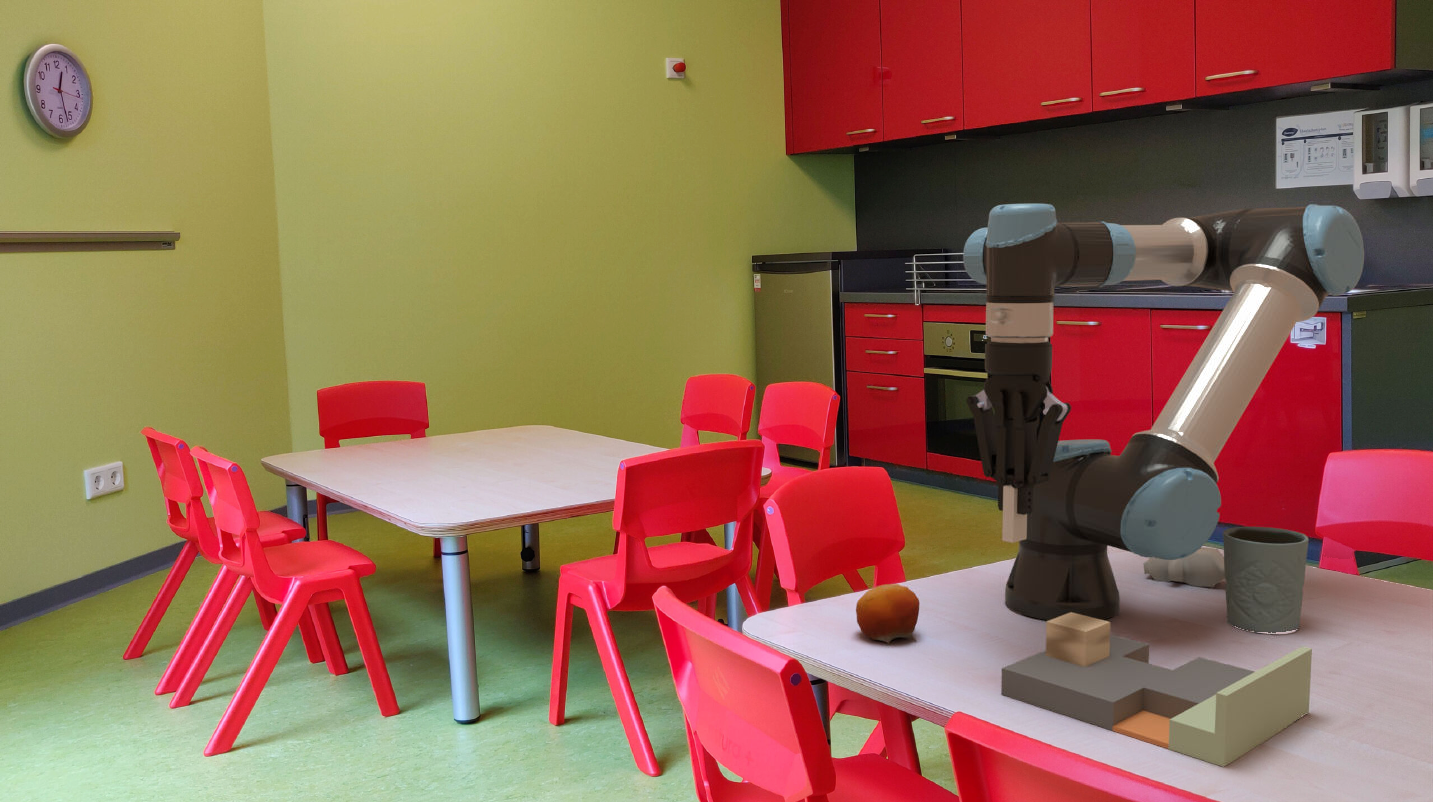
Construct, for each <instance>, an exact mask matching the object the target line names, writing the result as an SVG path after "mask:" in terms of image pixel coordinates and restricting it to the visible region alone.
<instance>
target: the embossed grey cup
mask: <svg viewBox="0 0 1433 802" xmlns="http://www.w3.org/2000/svg"><path fill="white" fill-rule="evenodd" d="M1222 538H1223V539H1222V540H1223V541H1222V542H1223V543H1222V544H1223V556H1224V571H1225V589H1224V590H1225V602H1226V620H1227V621H1228V622H1229V623H1230V624H1231V625H1233V626H1236V627H1238V628H1241V629H1244V630H1248V631H1254V632H1268V633H1271V632H1272V633H1276V632H1286V631H1292V630H1296V629H1298V627H1299V628H1300V626H1301V625H1300V624H1301V613H1302V607H1303V606H1302V604H1303V598H1304V597H1303V596H1304V591H1303V588H1304V586H1305V577H1306V576H1305V575H1306V569H1307V568H1306V566H1307V557H1308V549H1309V537H1308V536H1307V535H1306V534H1305V533H1302V532H1298V531H1295V530H1289V529H1284V528H1277V527H1267V526H1235V527H1231V528H1229V527H1228V528H1227V529H1225V530H1224V531H1223V532H1222ZM1228 622H1227V623H1228ZM1229 623H1228V624H1229ZM1230 624H1229V625H1230ZM1231 625H1230V626H1231ZM1233 626H1232V627H1233ZM1241 629H1240V630H1241ZM1244 630H1243V631H1244ZM1298 630H1299V629H1298ZM1248 631H1247V632H1248Z"/></svg>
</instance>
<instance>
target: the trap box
mask: <svg viewBox="0 0 1433 802" xmlns="http://www.w3.org/2000/svg"><path fill="white" fill-rule="evenodd" d="M1312 651H1313V649H1312V648H1310V647H1305V646H1301V647H1300V646H1299V648H1297V649H1295V650H1293V651H1290V652H1289V653H1287V654H1286V655H1284V656H1281V657H1280V658H1278V659H1277V660H1274V661H1272V662H1270V663H1269V664H1267V665H1265V666H1264V667H1261V668H1259V669H1258V670H1255V671H1254V670H1251V669H1247V668H1244V667H1243V668H1242V667H1238V666H1235V665H1231V664H1228V663H1227V664H1226V663H1224V662H1219V661H1216V660H1211V659H1208V658H1203V657H1200V656H1199V657H1196V658H1194V659H1193V660H1190V661H1189V662H1186V663H1184V664H1182V665H1180V666H1177V667H1176V668H1174V669H1170V668H1166V667H1163V666H1159V665H1156V664H1152V663H1150V662H1149V661H1150V660H1149V659H1150V644H1149V643H1146V642H1142V641H1138V640H1134V639H1130V638H1127V637H1124V636H1123V637H1122V636H1119V635H1116V634H1111V633H1110V650H1109V657H1106V658H1104V659H1102V660H1100V661H1097V662H1095V663H1093V664H1091V665H1088V666H1086V667H1084V666H1080V665H1077V664H1073V663H1070V662H1066V661H1063V660H1059V659H1056V658H1052V657H1049V656H1046V649H1045V650H1043V651H1041V652H1038V653H1036V654H1033V655H1031V656H1028V657H1026V658H1023V659H1021V660H1019V661H1016V662H1014V663H1011V664H1009V665H1007V666H1004V667H1001V686H1000V687H1001V691H1000V693H1001V695H1002V696H1006V697H1009V698H1012V699H1014V700H1018V701H1020V702H1024V703H1027V704H1030V705H1033V706H1036V707H1040V708H1042V709H1045V710H1047V711H1052V712H1054V713H1058V714H1061V715H1064V716H1066V717H1070V718H1073V719H1075V720H1079V721H1081V722H1085V723H1087V724H1088V723H1089V724H1091V725H1094V726H1097V727H1100V728H1104V729H1107V730H1110V731H1112V732H1115V733H1118V734H1122V735H1124V736H1128V737H1131V738H1134V739H1137V740H1140V741H1143V742H1146V743H1149V744H1152V745H1156V746H1157V747H1162V748H1164V749H1168V750H1170V751H1174V752H1177V753H1179V754H1183V755H1185V756H1188V757H1191V758H1192V757H1193V758H1196V759H1198V760H1201V761H1204V762H1207V763H1210V764H1214V765H1216V766H1220V767H1223V768H1224V767H1226V766H1228V765H1229V764H1231V763H1232V762H1234V761H1236V760H1237V759H1239V758H1240V757H1242V756H1244V755H1246V754H1247V753H1248V752H1250V751H1251V750H1253V749H1255V748H1256V747H1258V746H1259V745H1261V744H1263V743H1264V742H1266V741H1267V740H1269V739H1270V738H1272V737H1274V736H1275V735H1276V734H1278V733H1279V732H1282V731H1283V730H1285V729H1286V728H1287V726H1288V725H1289V726H1291V725H1292V724H1294V723H1295V722H1294V721H1296V720H1297V719H1299V718H1300V717H1301V716H1302V715H1304V714H1306V713H1308V711H1309V712H1310V695H1311V694H1310V693H1311V678H1312V677H1311V676H1312V675H1311V674H1312V658H1313V657H1312V654H1313V653H1312ZM1308 714H1309V713H1308ZM1300 719H1301V718H1300ZM1300 719H1299V720H1300ZM1297 721H1298V720H1297ZM1297 721H1296V722H1297ZM1293 722H1294V723H1293ZM1291 723H1292V724H1291ZM1290 724H1291V725H1290ZM1289 726H1288V727H1289ZM1284 728H1285V729H1284Z"/></svg>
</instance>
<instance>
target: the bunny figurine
mask: <svg viewBox="0 0 1433 802" xmlns="http://www.w3.org/2000/svg"><path fill="white" fill-rule="evenodd" d="M1143 573H1144V574H1145V575H1147V574H1148V575H1150V577H1151V578H1153V580H1155V581H1156V582H1161V583H1162V582H1163V583H1169V582H1179V583H1180V582H1181V583H1185V584H1188V585H1190V586H1193V587H1207V588H1209V587H1212V588H1214V587H1215V585H1216V584H1219V582H1222V581H1223V580H1224V579H1225V571H1224V554H1223V553H1221V552H1220V550H1219V549H1218V548H1213V547H1201V548H1200V549H1199V550H1197V551H1196V552H1194V553H1193V554H1191V555H1189V556H1187V557H1184V558H1180V559H1176V560H1164V559H1159V558H1148V559H1147V561H1145V562H1144V563H1143Z"/></svg>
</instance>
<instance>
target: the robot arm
mask: <svg viewBox="0 0 1433 802" xmlns="http://www.w3.org/2000/svg"><path fill="white" fill-rule="evenodd" d="M1056 216H1057V215H1056V208H1055V207H1054V205H1052V204H1050V203H1049V204H1048V203H1010V204H1009V203H1008V204H1006V203H1005V204H999V205H996V206H994V207H993V208H992V209H991V210H990V211H989V214H988V222H987V227H981V228H979V229H977V230H974V231H973V233H971V235H970V236H969V237H968V238H967V240H966V241H965V244H964V247H963V255H962V258H963V261H962V262H963V267H964V269H965V271H966V273H967V275H968V276H969V277H970V279H972V280H973V281H974V282H976V283H979V284H981V285H983V284H984V285H986V304H985V305H986V307H985V335H986V336H987V337H988V338H989V337H990V340H989V341H987V342H986V343H985V345H984V369H985V372H986V373H987V376H986V380H985V381H984V384H983V390H981V391H980V392H978V393H977V394H976V395H968V396H967V397H966V404H967V406H968V409H969V410H970V412H971V414H972V416H973V421H974V427H975V433H976V438H977V439H976V440H977V444H978V449H979V456H980V460H981V466H982V472H983V475H984V476H985V477H986V478H991V479H993V480H994V481H995V482H996V483H997V486H998V487H997V489H998V490H997V508H998V511H1001V512H1002V532H1001V533H1002V534H1001V535H1002V536H1001V539H1002V541H1003V542H1007V543H1012V544H1013V543H1017V542H1018V552H1017V553H1016V556H1015V559H1014V562H1013V566H1012V568H1011V571H1010V574H1009V576H1008V579H1007V581H1006V583H1005V588H1004V589H1005V591H1004V603H1005V605H1006V606H1007V608H1009V609H1010V610H1012V611H1013V612H1015V613H1019V614H1020V615H1023V616H1026V617H1027V616H1028V617H1031V618H1036V619H1039V620H1040V619H1041V620H1046V621H1049V620H1052V619H1054V618H1057V617H1060V616H1062V615H1065V614H1068V613H1070V612H1072V613H1076V614H1080V615H1084V616H1088V617H1092V618H1096V619H1100V620H1107V619H1109V618H1113V617H1114V616H1116V615H1117V614H1119V612H1120V600H1121V599H1120V591H1119V589H1118V586H1117V583H1116V582H1117V581H1116V579H1115V576H1114V571H1113V568H1112V565H1111V562H1110V559H1109V556H1108V547H1111V548H1115V549H1119V550H1122V551H1126V552H1129V553H1132V554H1134V555H1138V556H1139V557H1142V558H1143V557H1144V558H1148V559H1150V558H1159V559H1164V560H1176V559H1180V558H1184V557H1187V556H1189V555H1191V554H1193V553H1194V552H1196V551H1197V550H1199V549H1200V548H1203V546H1204V545H1205V544H1206V543H1207V542H1208V541H1209V539H1211V536H1212V535H1213V533H1214V531H1215V529H1216V528H1217V525H1218V522H1219V520H1220V515H1221V514H1220V512H1218V509H1220V507H1221V506H1222V497H1221V492H1220V489H1219V486H1218V485H1217V484H1218V482H1219V479H1220V478H1219V474H1218V473H1219V472H1218V471H1217V468H1216V466H1215V461H1216V460H1217V458H1218V457H1219V455H1220V453H1221V451H1222V449H1223V448H1224V446H1225V444H1226V442H1227V441H1228V439H1229V438H1230V436H1231V434H1232V432H1233V431H1234V429H1235V428H1236V426H1237V424H1238V422H1239V421H1240V419H1241V418H1242V415H1243V413H1244V412H1245V411H1246V409H1247V407H1248V406H1249V404H1250V402H1251V400H1252V399H1253V397H1254V395H1255V394H1256V391H1257V390H1258V389H1259V387H1260V385H1261V383H1262V381H1263V380H1264V378H1265V377H1266V374H1268V371H1269V370H1270V368H1271V366H1272V365H1273V363H1274V362H1275V359H1276V358H1277V356H1278V355H1279V354H1280V353H1279V352H1280V351H1281V349H1282V348H1283V346H1284V344H1285V343H1286V341H1287V339H1288V338H1289V336H1290V334H1291V333H1292V331H1293V330H1294V327H1295V326H1296V323H1299V322H1304V321H1308V320H1310V319H1312V318H1314V317H1315V316H1316V314H1317V312H1319V310H1320V308H1321V306H1322V304H1323V302H1324V301H1325V299H1326V298H1327V297H1328V296H1329V295H1331V296H1334V297H1337V296H1341V295H1343V294H1347V293H1350V292H1351V291H1352V290H1353V289H1354V288H1356V286H1357V285H1358V282H1359V281H1360V280H1361V276H1362V273H1363V269H1364V262H1365V249H1364V240H1363V235H1362V232H1361V228H1360V227H1359V225H1358V223H1357V220H1355V218H1354V216H1353V215H1352V214H1351V213H1350V211H1348V210H1346V209H1345V208H1342V207H1340V206H1337V205H1319V204H1315V203H1314V204H1312V203H1311V204H1308V205H1307V206H1294V207H1269V208H1268V207H1267V208H1264V207H1263V208H1241V209H1235V210H1228V211H1221V212H1216V213H1212V214H1205V215H1198V216H1191V217H1189V216H1188V217H1174V218H1170V219H1168V220H1166V222H1164V223H1162V224H1127V225H1126V224H1123V225H1121V224H1119V223H1118V224H1117V223H1112V222H1111V223H1110V222H1106V221H1095V222H1094V221H1093V222H1092V221H1091V222H1086V221H1085V222H1076V221H1075V222H1059V221H1058V220H1057V217H1056ZM1156 280H1161V281H1162V282H1163V283H1165V284H1166V285H1169V286H1174V287H1197V288H1198V287H1199V288H1204V289H1212V290H1220V291H1226V292H1227V291H1228V292H1233V294H1232V295H1231V297H1230V299H1228V301H1227V303H1226V305H1225V306H1224V308H1223V310H1222V311H1221V313H1220V315H1219V317H1218V318H1217V320H1216V321H1215V323H1214V325H1213V327H1212V328H1211V329H1210V331H1209V333H1208V335H1207V337H1206V338H1205V340H1204V342H1203V343H1202V345H1201V346H1200V348H1199V350H1198V351H1197V353H1196V354H1195V355H1194V357H1193V360H1192V361H1191V363H1190V364H1189V366H1188V368H1187V369H1186V371H1185V373H1184V374H1183V376H1182V377H1181V379H1180V380H1179V383H1178V384H1177V386H1176V387H1175V389H1174V390H1173V392H1172V394H1171V395H1170V397H1169V399H1168V400H1167V402H1166V403H1165V405H1164V407H1163V408H1162V410H1161V412H1160V413H1159V415H1158V416H1157V419H1156V420H1155V422H1154V423H1153V424H1152V426H1151V429H1149V430H1143V431H1139V432H1135V433H1134V434H1133V435H1132V436H1131V438H1129V440H1128V442H1127V444H1126V446H1125V448H1124V449H1123V451H1122V452H1121V453H1120V455H1114V454H1112V449H1111V445H1110V442H1109V441H1107V440H1106V439H1069V440H1059V439H1060V435H1061V433H1062V427H1063V424H1064V421H1065V420H1066V419H1067V417H1068V415H1070V412H1071V411H1072V405H1071V404H1070V403H1069V402H1062V401H1061V400H1059V399H1058V398H1057V397H1056V396H1055V395H1054V391H1053V386H1052V384H1051V382H1050V377H1051V374H1052V373H1051V372H1052V371H1053V344H1052V343H1051V342H1050V341H1048V338H1051V337H1052V336H1053V335H1054V301H1055V300H1054V299H1055V297H1054V295H1055V288H1058V287H1098V288H1103V287H1105V286H1113V285H1116V284H1119V283H1121V282H1123V281H1124V282H1125V281H1126V282H1127V281H1128V282H1129V281H1156ZM993 409H994V410H993ZM1041 412H1042V414H1043V415H1044V416H1043V418H1042V421H1041V423H1040V416H1041V415H1040V414H1041ZM1039 426H1040V427H1039ZM1038 427H1039V433H1038V431H1037V429H1038ZM1037 434H1038V435H1037Z"/></svg>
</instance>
